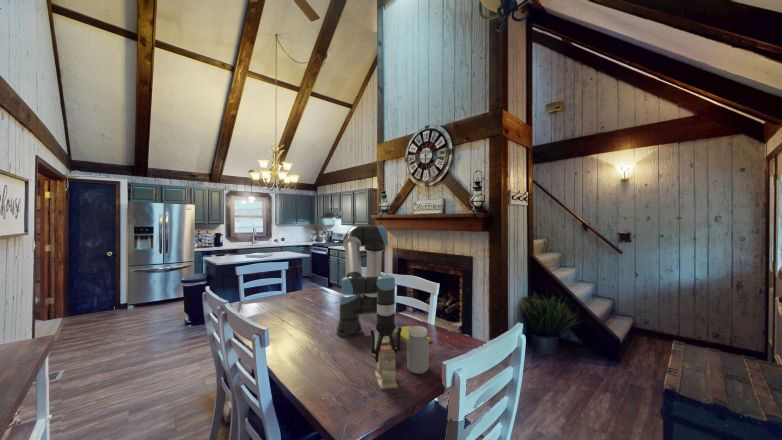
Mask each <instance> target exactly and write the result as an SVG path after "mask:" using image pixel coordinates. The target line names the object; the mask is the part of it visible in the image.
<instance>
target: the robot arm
mask: <svg viewBox="0 0 782 440" xmlns="http://www.w3.org/2000/svg"><path fill="white" fill-rule="evenodd" d="M388 245H389V240H388V233H387V229H386V227H385V226H384V225H375V224H374V225H356V226H353V227H351V228H350V229H348V230H347V232H346V233H345V235H344V236H343V240H342V247H343V249H344V260H345V261H344V263H345V264H344V265H345V266H344V267H345V268H344V269H345V277H342V278H341V295H340V297H339V303H338V304H339V320H338V324H337V327H336V335H337V336H339V337H342V338H355V337H359V336H360V335H362V333H363V326H362V323H361V320H360V315H376V325H375V327H373V328H372V327H370V328H369V333H370V352H371V354H372V355H373V354H375V356H374V361H375V363H376V369H377V368H378V370H379V371H380V353H379V351H380V347H381V343H382V339H383V337H384V336H389V344H390V345H391V347H392V349H393V351H394V352H395V354H396V355H397V354H398V352H401V347H402V346H401V345H402V344H401V338H400V333H401V330H402V328H401V327H402V326H400V325H398V326H397V325H396V324H395V323H396V322H395V321H396V319H395V318H396V316H395V315H396V314H395V310H396V309H395V308H396V307H395V305H396V304H395V301H396V300H395V299H396V298H395V297H396V294H395V292H396V283H395V281H396V280H395V277H394V276H392V275H389V274H387V275H385V274H382V255H383V251H384V250H385V247H388ZM361 247H364V251H366V271H365V272H366V274H365V276H363V272H362V263H361V262H362V261H361V249H360V248H361ZM395 329H396V335H395V338H396V339H395V340H394V336H393V334H394V333H393V331H394V330H395ZM376 330H377V331H378V332H379V337H378V341H377V345H376V349H375V335H374V334H375V333H376Z"/></svg>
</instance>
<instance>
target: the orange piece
mask: <svg viewBox="0 0 782 440" xmlns="http://www.w3.org/2000/svg"><path fill="white" fill-rule="evenodd" d="M384 351H393V349H392V347H391V344H389V345H387V346H381V347H380V351H379V353H380V372H382V352H384Z"/></svg>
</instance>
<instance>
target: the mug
mask: <svg viewBox="0 0 782 440" xmlns="http://www.w3.org/2000/svg"><path fill="white" fill-rule="evenodd" d="M374 335H375V349H376V345H377V341H378V337H379V332H378V331H377V330H376V333H375V334H374ZM382 340H388V341H389V342H390V339H389V336H384V337H383V339H382ZM372 356H373V357H375V354H372Z"/></svg>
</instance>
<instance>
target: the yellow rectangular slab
mask: <svg viewBox="0 0 782 440" xmlns="http://www.w3.org/2000/svg"><path fill="white" fill-rule="evenodd" d="M400 327H401V328H402V330H401V333H400V340H403V341H404V342H405V343H407V339H408V337H409V328H410V327H411V326H410V325H407V326H400ZM392 334H394V335H395V336H396V329H395V330H394V331H393V333H392ZM427 338H428V340H429V343H431V342H432V338H431V337H429V336H428V335H427Z"/></svg>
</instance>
